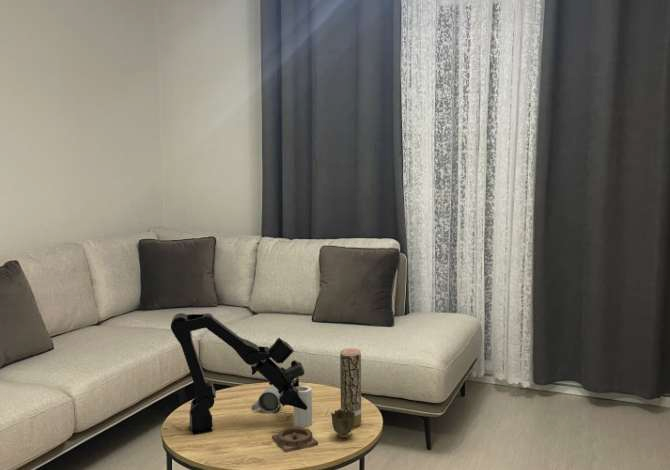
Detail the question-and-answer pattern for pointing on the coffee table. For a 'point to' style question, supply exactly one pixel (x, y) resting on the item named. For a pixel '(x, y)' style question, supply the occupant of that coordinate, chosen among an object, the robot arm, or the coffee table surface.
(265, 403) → the ceramic mug
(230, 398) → the coffee table surface
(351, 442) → the coffee table surface
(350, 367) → the paper tube
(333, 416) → the cup
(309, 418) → the tube
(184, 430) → the coffee table surface
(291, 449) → the holder
